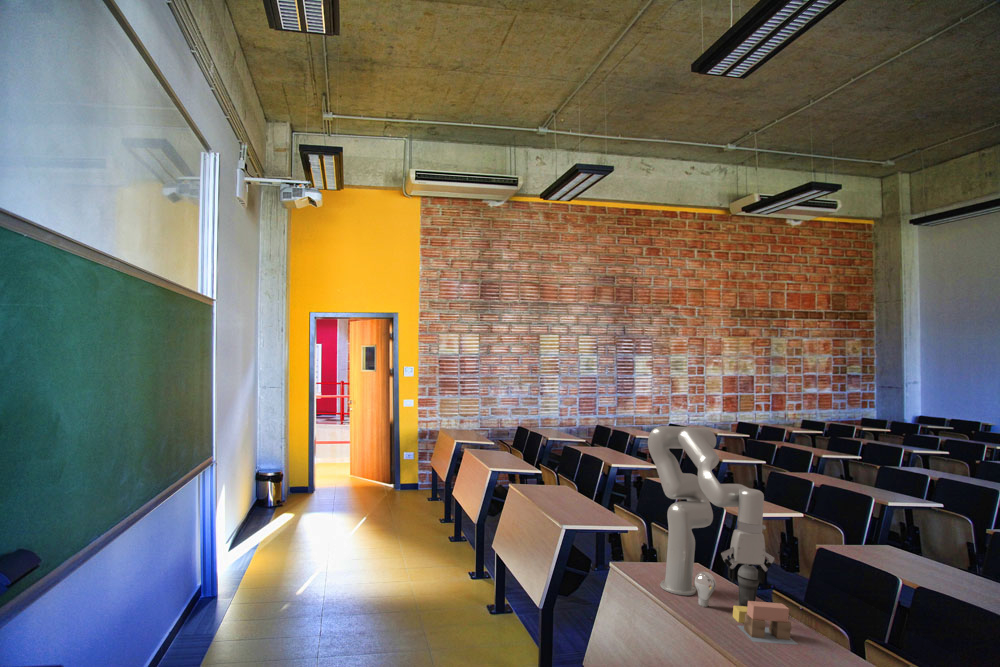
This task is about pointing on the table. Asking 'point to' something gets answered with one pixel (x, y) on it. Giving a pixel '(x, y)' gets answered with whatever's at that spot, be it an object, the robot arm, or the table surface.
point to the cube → (739, 613)
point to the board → (768, 638)
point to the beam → (768, 611)
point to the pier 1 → (754, 627)
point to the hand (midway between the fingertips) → (746, 581)
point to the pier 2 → (780, 629)
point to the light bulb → (704, 587)
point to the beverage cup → (747, 584)
